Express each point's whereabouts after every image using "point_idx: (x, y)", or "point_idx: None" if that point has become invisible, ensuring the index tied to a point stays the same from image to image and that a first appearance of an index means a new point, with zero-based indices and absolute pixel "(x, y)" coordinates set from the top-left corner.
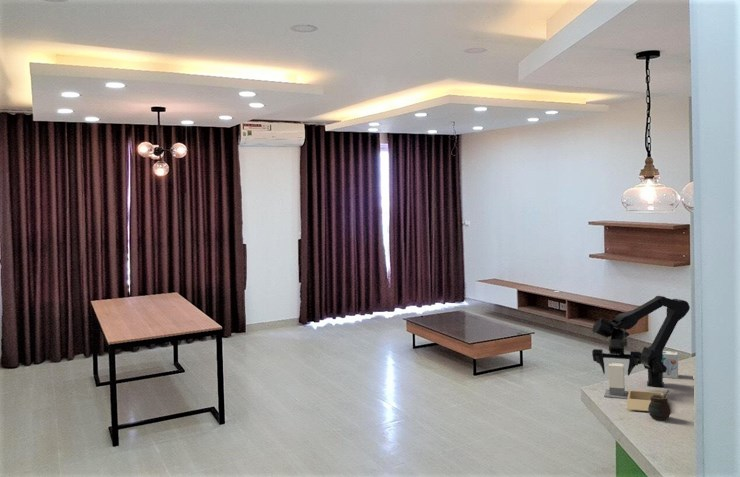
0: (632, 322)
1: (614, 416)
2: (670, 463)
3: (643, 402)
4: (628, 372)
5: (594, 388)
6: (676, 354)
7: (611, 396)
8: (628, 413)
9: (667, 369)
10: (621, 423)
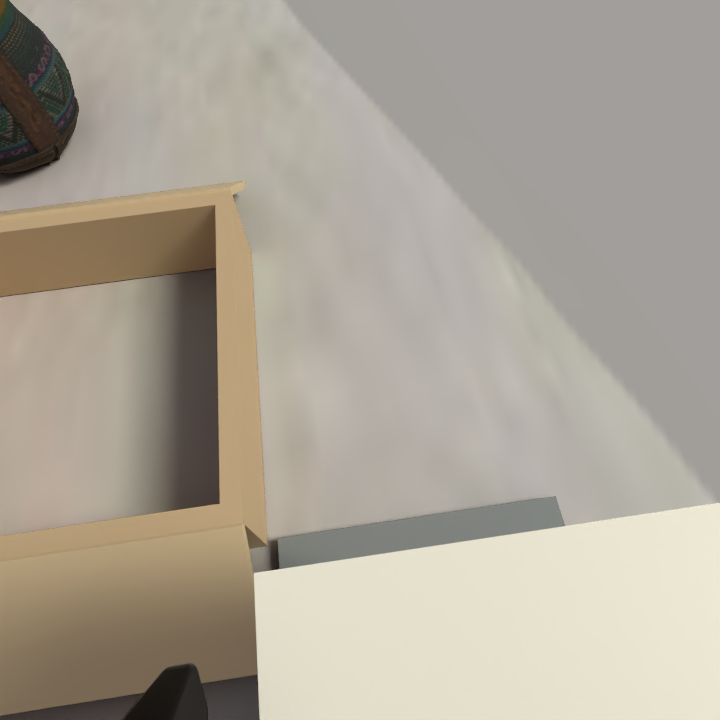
0: None
1: (312, 74)
2: None
3: (88, 203)
4: (159, 697)
5: None
6: None
7: (472, 517)
8: (232, 150)
9: None
10: (254, 6)
